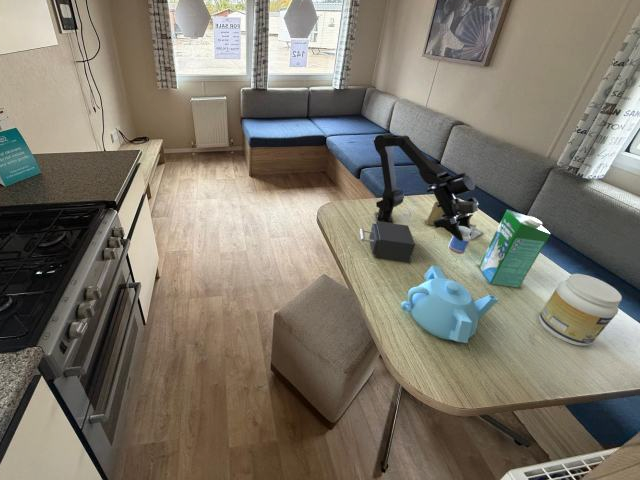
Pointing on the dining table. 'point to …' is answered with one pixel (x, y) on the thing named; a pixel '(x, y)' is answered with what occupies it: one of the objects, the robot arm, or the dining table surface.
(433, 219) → the rock
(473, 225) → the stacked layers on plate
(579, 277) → the supplement tub
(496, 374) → the dining table surface
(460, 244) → the pill bottle
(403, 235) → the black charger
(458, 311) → the teapot
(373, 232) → the drawer
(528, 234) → the milk carton
